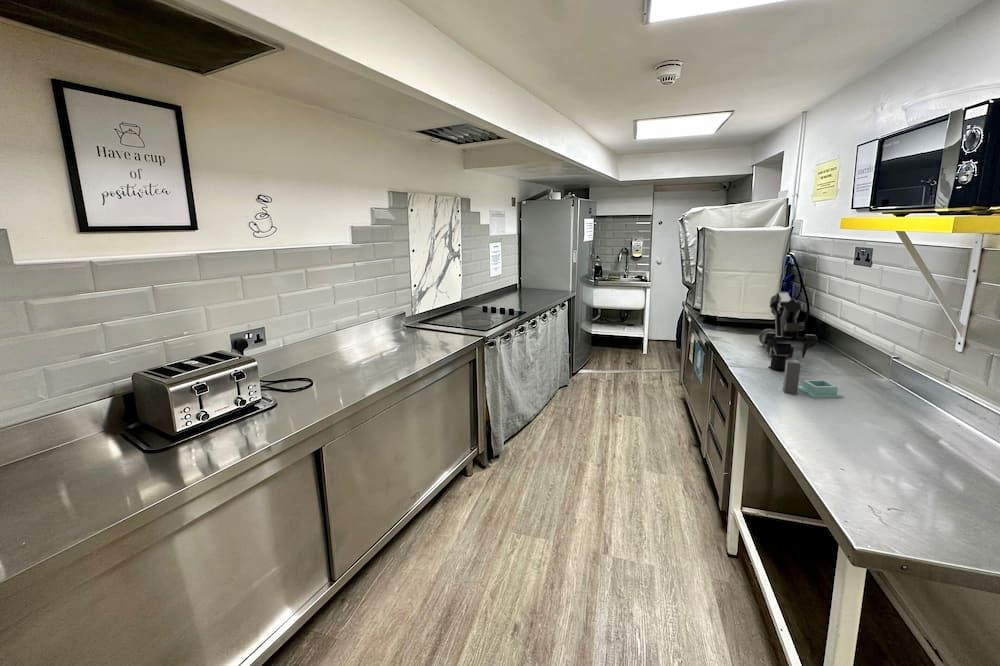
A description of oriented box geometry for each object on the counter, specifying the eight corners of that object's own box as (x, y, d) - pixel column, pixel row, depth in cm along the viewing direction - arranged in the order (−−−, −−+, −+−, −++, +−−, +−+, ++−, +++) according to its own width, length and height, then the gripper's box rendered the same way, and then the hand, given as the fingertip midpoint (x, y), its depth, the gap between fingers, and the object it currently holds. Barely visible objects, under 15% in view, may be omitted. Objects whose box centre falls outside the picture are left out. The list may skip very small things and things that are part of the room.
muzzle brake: (765, 358, 229) (767, 338, 227) (757, 345, 254) (758, 327, 252) (786, 359, 226) (789, 340, 223) (776, 346, 251) (778, 328, 249)
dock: (796, 388, 187) (797, 379, 186) (824, 388, 186) (826, 378, 185) (812, 397, 176) (813, 388, 175) (842, 397, 175) (843, 388, 174)
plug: (782, 389, 186) (786, 359, 183) (795, 390, 184) (798, 360, 181) (784, 393, 182) (787, 362, 179) (797, 394, 180) (800, 363, 177)
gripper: (766, 314, 192) (767, 345, 184) (818, 315, 184) (821, 348, 177) (762, 328, 200) (763, 358, 193) (812, 330, 193) (815, 362, 185)
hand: (790, 356), depth 187 cm, fingers open, 9 cm apart
